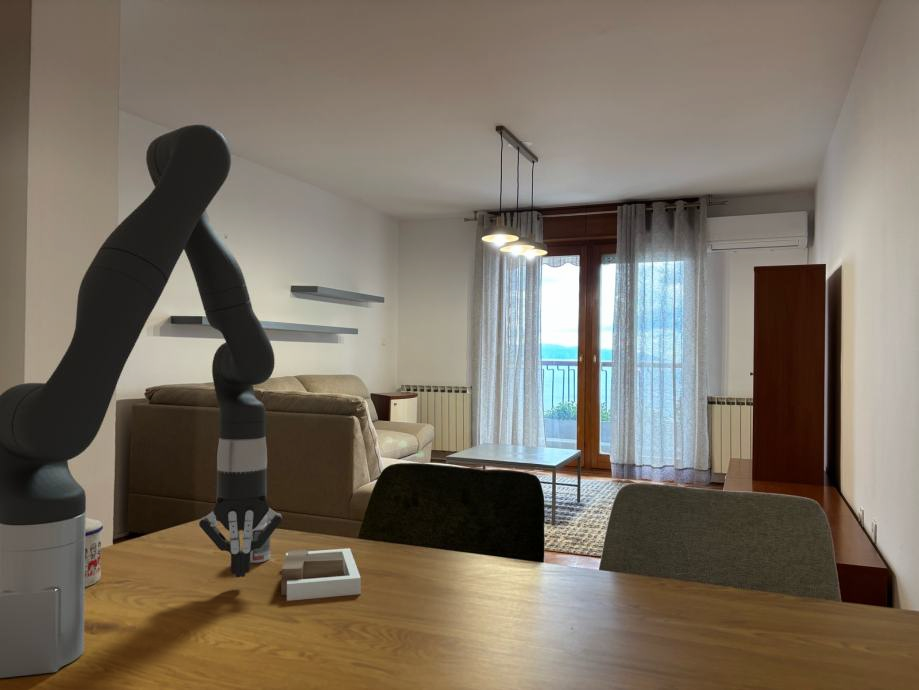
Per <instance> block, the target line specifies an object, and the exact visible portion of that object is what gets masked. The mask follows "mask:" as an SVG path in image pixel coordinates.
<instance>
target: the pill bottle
mask: <svg viewBox="0 0 919 690" xmlns="http://www.w3.org/2000/svg"><path fill="white" fill-rule="evenodd" d="M266 518H267V514H266V515H265V516H264V518H263V519H262V520H261V522H260V523H259V524H258V526H257V527H256V528H255V529H253V530H252V540H253V539H256V538H257V536H258V535H259V534H260V533H261V531H262V530H263V529H264V527H265V526H266V525H267V523H266ZM243 536H244V531H243V530H242V537H243ZM270 558H271V536H270V537H269V538H268V539H267V540H266V542H265V543H264V544H263V545H262V547H261V548H259V549H254V550H252V551H251V553H250V564H258V563H263V562H266V561H268V560H270Z"/></svg>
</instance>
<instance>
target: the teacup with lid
mask: <svg viewBox="0 0 919 690" xmlns="http://www.w3.org/2000/svg"><path fill="white" fill-rule="evenodd" d="M103 529H104V526H103V523H102V522H101V521H100V520H97V519H94V518H93V519H92V518H89V517H86V525H85V588H87V587H89V586H92V585H94V584H96V583H98V582H99V580H100V579H101V574H102V573H101V572H102V571H101V569H102V564H101V563H102V531H103Z"/></svg>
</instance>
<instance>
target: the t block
mask: <svg viewBox="0 0 919 690" xmlns="http://www.w3.org/2000/svg"><path fill="white" fill-rule="evenodd" d="M308 551H309V550H308V549H306V548H305V549H290V550H289V551H288V552H287V553H288V555H287V558H286V557H285V560H284V563H283V565H282V567H281V585H280V586H281V589H280V591H281V596H287V581H289V580H301V579H314V578H326V577H338V576H344V571H343V554H342V555H311V556H308Z"/></svg>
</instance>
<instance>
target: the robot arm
mask: <svg viewBox="0 0 919 690" xmlns="http://www.w3.org/2000/svg"><path fill="white" fill-rule="evenodd" d="M145 159H146V167H147V171H148V173H149V176H150V179H151V181H152V183H153V185H154V188H153V190H152V191H151V192H150V194H149V195H148V196H147V197H146V198H145V199H144V200H143V201H142V202H141V203H140V204H139V205H138V206H137V207H136V208H135V209H134V210H133V211H132V212H131V213H130V214H129V215H128V216H126V217H125V219H123V220H122V221H121V222H120V223H119V224H118V225H117V226H116V227H115V229H113V231H112V232H110V234H109V235H108V236H107V238H106V239H105V241H104V242H103V243H102V245H101V246H100V248H99V249H98V251H97V253H96V254H95V256H94V258H93V259H92V260H91V263H90V265H89V266H88V268H87V269H86V271H85V273H84V276H83V277H82V279H81V282H80V284H79V289H78V295H77V301H76V318H75V328H74V331H73V336H72V339H71V340H70V344H69V345H68V348H67V349H66V351H65V353H64V355H63V356H62V358H61V360H60V361H59V363H58V365H57V366H56V368H55V369H54V371H53V373H52V374H51V375H50V377H49V378H48V380H47V381H46V382H43V383H42V382H27V383H21V384H16V385H14V386H12V387H9V388H8V389H6V390H5V391H3V392H2V393H1V394H0V679H2V678H14V677H23V676H32V675H42V674H49V673H50V674H51V673H55V672H56V673H57V672H58V671H59V670H60V668H62V667H64V666H66V665H68V664H70V663H72V662H74V661H75V660H78V658H80V657H81V656H82V654H83V653H84V651H85V597H86V595H85V590H86V589H85V588H86V587H85V525H86V516H87V513H86V509H87V507H86V506H87V502H86V501H87V497H86V496H87V495H86V492H85V489H84V488H83V486H81V485H80V484H79V483H78V481H76V479H75V478H74V476H73V475H72V473H71V471H70V469H69V462H68V461H70V460H72V459H74V458H77V457H78V456H79V455H81V454H82V453H84V452H85V451H86V450H87V448H89V447H90V445H91V444H92V443H93V441H94V440H95V438H97V437H96V436H97V435H98V434H99V431H100V429H101V427H102V425H103V422H104V419H105V417H106V415H107V412H108V409H109V406H110V404H111V401H112V399H113V396H114V393H115V391H116V387H117V385H118V382H119V380H120V377H121V374H122V372H123V370H124V367H125V365H126V363H127V361H128V359H129V357H130V356H131V353H132V351H133V350H134V347H135V346H136V343H137V341H138V340H139V338H140V336H141V333H142V331H143V329H144V328H145V325H146V324H147V321H148V319H149V318H150V316H151V313H152V312H153V310H154V308H155V307H156V305H157V303H158V301H159V299H160V297H161V295H162V293H163V292H164V290H165V288H166V286H167V284H168V283H169V279H170V277H171V275H172V273H173V271H174V268H175V267H176V265H177V263H178V261H179V259H180V257H181V255H182V253H183V251H184V253H185V255H186V257H187V260H188V262H189V265H190V269H191V270H192V274H193V277H194V281H195V282H196V283H195V284H196V286H197V289H198V293H199V297H200V300H201V303H202V307H203V310H204V313H205V318H206V320H207V322H208V324H209V325H210V327H212V329H214V330H217V331H219V332H220V333H221V334H222V336H223V339H224V341H225V342H224V343H222V344H221V345H219V346H218V348H217V349H216V351H215V353H214V356H213V359H212V363H211V364H212V365H211V373H212V381H213V387H214V391H215V397H216V401H217V404H218V408H219V428H218V429H219V432H218V433H219V434H218V435H219V436H218V437H219V438H218V445H217V455H216V456H217V457H216V458H217V460H216V465H217V466H216V500H215V503H214V505H213V508H212V511H211V512H210V513H208V514H207V515H205V516H202V517H201V518H200V521H199V527H200V528H201V529H202V531H204V533H205V534H206V535H207V536H208V538H209V539H210V540H211V541H212V542H213V544H214V545H215V546H216V547H217V548H218V549H219V551H221V552H223V551H225V552H227V553H229V554H230V571H231V574H232V575H235V576H234V578H245V577H246V574H248V573H250V570H251V563H250V553H251V551H252V550H254V549H259V548H261V547H262V545H263V544H264V543H265V542H266V540H267V539H268V538H269V537H270V538H271V535H272V534H273V533H274V532H275V530H276V529H277V528H278V526H279V525H280V524H281V523H282V520H283V518H282V514H281V512H276V511H274V510H273V509H272V508H270V502H269V501H268V497H267V491H268V490H267V489H268V488H267V486H268V485H267V483H268V482H267V481H268V480H267V479H268V478H267V476H268V475H267V474H268V471H267V470H268V448H267V439H266V436H267V435H266V424H267V423H266V422H267V421H266V420H267V419H266V418H267V415H266V414H267V413H266V412H267V411H266V407H265V404H264V403H263V402H261V400H259V399H257V397H256V394H255V390H254V386H256V385H261V384H263V383H265V382H267V381H268V380H269V379H270V378H271V376H272V375H273V372H274V370H275V363H276V362H275V353H274V348H273V346H272V343H271V340H270V339H269V337H268V336H267V333H266V331H265V330H264V327H263V326H262V324H261V322H260V320H259V318H258V317H257V315H256V313H255V312H254V309H253V306H252V302H251V301H252V300H251V298H250V294H249V291H248V287H247V283H246V279H245V276H244V273H243V271H242V268H241V266H240V264H239V263H238V261H237V259H236V258H235V256H234V254H233V253H232V251H231V250H230V249H229V248H228V246H227V245H226V243H225V242H224V241H223V239H222V238H221V237H220V235H219V234H218V232H217V230H216V228H215V227H214V226H213V224H212V222H211V220H210V218H209V215H208V212H207V210H206V209H207V208H208V206H209V205H210V204H211V202H212V201H213V199H214V197H215V196H216V195H217V193H218V192H220V191H219V190H220V189H221V188H222V186H223V185H224V184H225V182H226V180H227V178H228V177H229V174H230V170H231V165H232V153H231V148H230V145H229V144H228V141H227V139H226V137H224V135H223V133H221V132H220V131H219V130H217V129H216V128H214V127H213V126H211V125H206V124H191V125H184V126H182V127H179V128H178V129H175V130H173V131H170V132H166V133H164V134H162V135H160V136H157V137H155V138H154V140H152V141H150V144H149V145H148V148H147V150H146V158H145ZM266 514H267V518H266V523H267V525H266V526H265V527H264V529H263V530H262V531H261V533H260V534H259V535H258V536H257V538H256V539H253V540H252V530H253V529H255V528H256V527H257V526H258V524H259V523H260V522H261V520H262V519H263V518H264V516H265V515H266ZM216 518H217V519H218V521H219V522H220V524H221V525H222V526H223V528H224V529H225V530H226V531H229V532H228V533H229V540H228V539H227V538H226V537H225V536H224V534H223V533H222V532H221V531H220V530H219V529H218V527H217V525H218V521H217V519H216ZM240 531H242V532H243V531H244V536H243V535H242V547H241V541H240V540H241V539H240Z"/></svg>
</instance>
